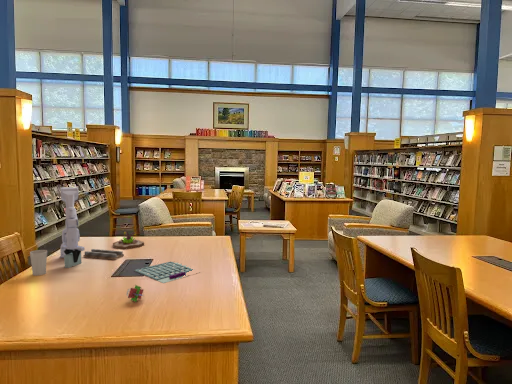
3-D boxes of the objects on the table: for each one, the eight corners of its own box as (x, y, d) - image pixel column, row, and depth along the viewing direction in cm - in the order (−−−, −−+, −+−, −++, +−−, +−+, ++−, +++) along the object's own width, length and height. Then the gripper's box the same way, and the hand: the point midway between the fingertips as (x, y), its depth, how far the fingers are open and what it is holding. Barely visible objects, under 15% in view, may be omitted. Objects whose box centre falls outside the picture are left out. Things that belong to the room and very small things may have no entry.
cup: (28, 273, 195) (27, 251, 194) (45, 270, 201) (44, 249, 200) (33, 277, 190) (32, 254, 188) (50, 273, 195) (49, 251, 194)
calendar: (175, 262, 222) (175, 259, 221) (204, 272, 203) (204, 268, 203) (134, 272, 202) (134, 268, 202) (163, 284, 183) (163, 279, 183)
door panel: (69, 267, 206) (68, 255, 205) (64, 267, 207) (64, 255, 206) (81, 263, 216) (81, 251, 215) (77, 262, 216) (76, 251, 216)
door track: (83, 257, 228) (83, 252, 228) (94, 253, 238) (93, 248, 237) (114, 260, 223) (114, 254, 223) (123, 255, 233) (123, 251, 232)
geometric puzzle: (141, 290, 166) (132, 279, 162) (150, 294, 162) (141, 283, 158) (130, 303, 162) (120, 292, 158) (139, 307, 158) (129, 296, 154)
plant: (107, 246, 257) (106, 231, 256) (130, 241, 273) (130, 227, 272) (124, 251, 246) (124, 234, 245) (148, 245, 262) (147, 230, 261)
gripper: (56, 239, 208) (57, 262, 209) (78, 241, 204) (78, 264, 205) (65, 237, 214) (66, 259, 216) (86, 238, 211) (87, 261, 212)
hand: (73, 261), depth 211 cm, fingers closed on door panel, 3 cm apart
